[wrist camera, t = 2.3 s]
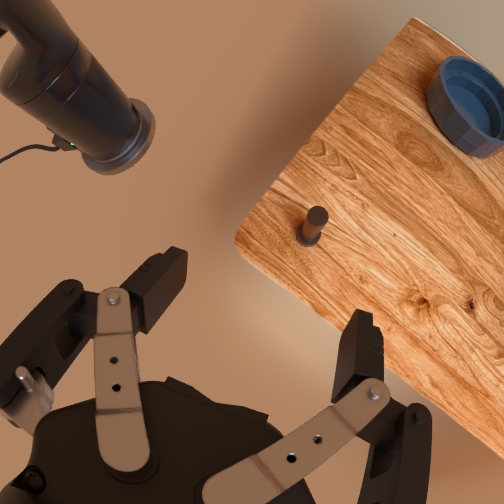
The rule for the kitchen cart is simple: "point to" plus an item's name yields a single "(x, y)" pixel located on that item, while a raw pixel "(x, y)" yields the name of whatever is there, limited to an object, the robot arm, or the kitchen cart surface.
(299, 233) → the brown rubber stamp
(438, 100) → the bowl
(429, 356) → the kitchen cart surface
